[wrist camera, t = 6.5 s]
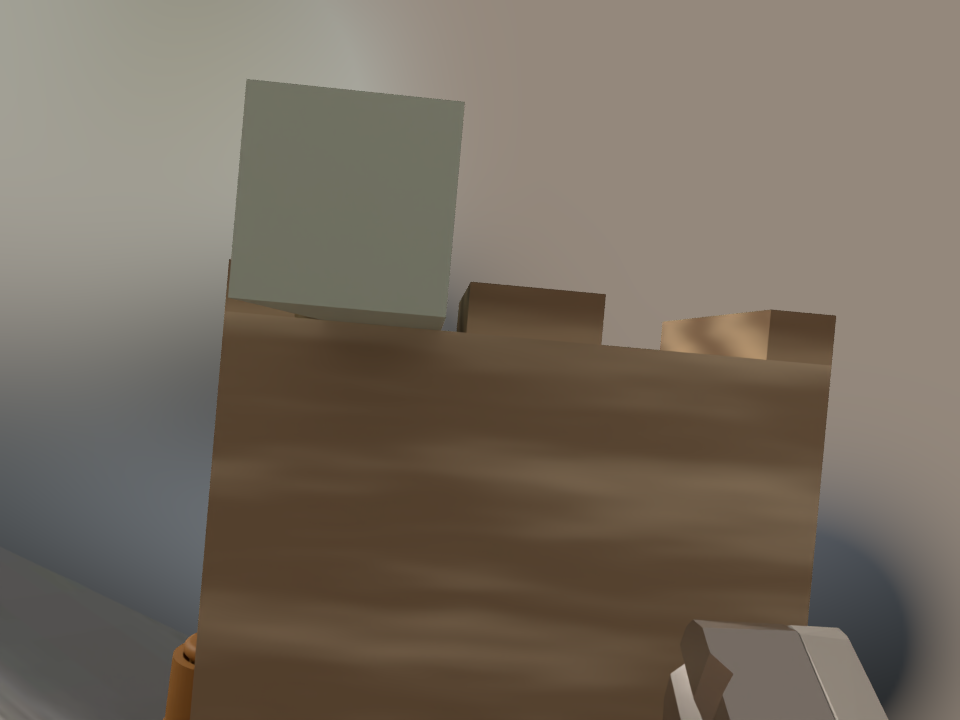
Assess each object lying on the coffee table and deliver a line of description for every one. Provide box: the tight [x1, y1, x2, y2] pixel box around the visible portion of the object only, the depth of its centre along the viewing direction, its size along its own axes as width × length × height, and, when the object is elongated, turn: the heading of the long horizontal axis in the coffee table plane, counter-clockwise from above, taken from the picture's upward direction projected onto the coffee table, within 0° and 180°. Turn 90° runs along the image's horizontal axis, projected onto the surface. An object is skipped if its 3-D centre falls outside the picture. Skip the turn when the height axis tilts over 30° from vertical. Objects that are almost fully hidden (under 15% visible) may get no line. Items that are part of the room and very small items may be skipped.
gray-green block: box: [228, 79, 465, 331], centre depth 27 cm, size 27×4×4 cm, turn 3°
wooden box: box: [190, 259, 836, 720], centre depth 31 cm, size 12×18×26 cm, turn 93°
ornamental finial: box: [163, 633, 197, 720], centre depth 47 cm, size 8×8×8 cm
